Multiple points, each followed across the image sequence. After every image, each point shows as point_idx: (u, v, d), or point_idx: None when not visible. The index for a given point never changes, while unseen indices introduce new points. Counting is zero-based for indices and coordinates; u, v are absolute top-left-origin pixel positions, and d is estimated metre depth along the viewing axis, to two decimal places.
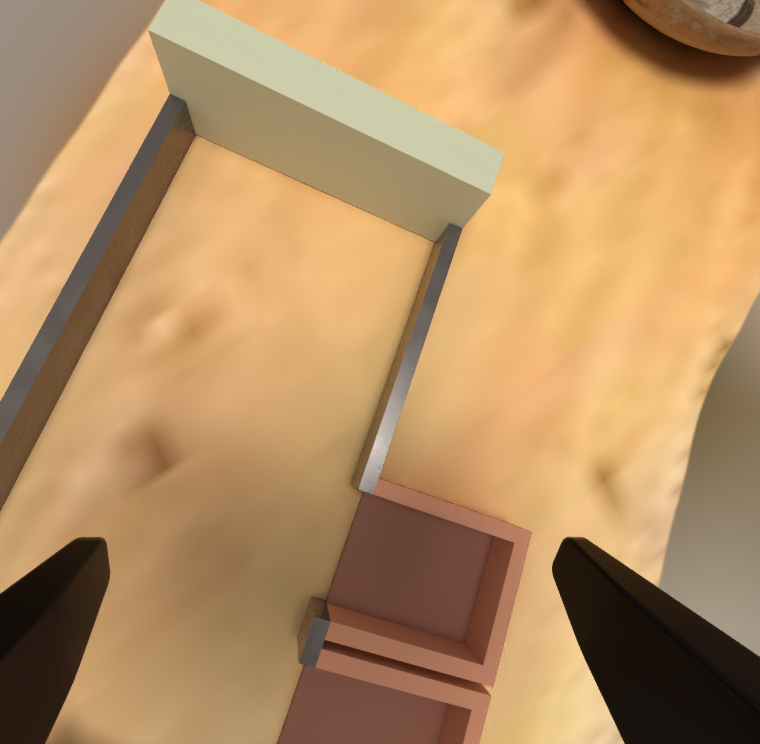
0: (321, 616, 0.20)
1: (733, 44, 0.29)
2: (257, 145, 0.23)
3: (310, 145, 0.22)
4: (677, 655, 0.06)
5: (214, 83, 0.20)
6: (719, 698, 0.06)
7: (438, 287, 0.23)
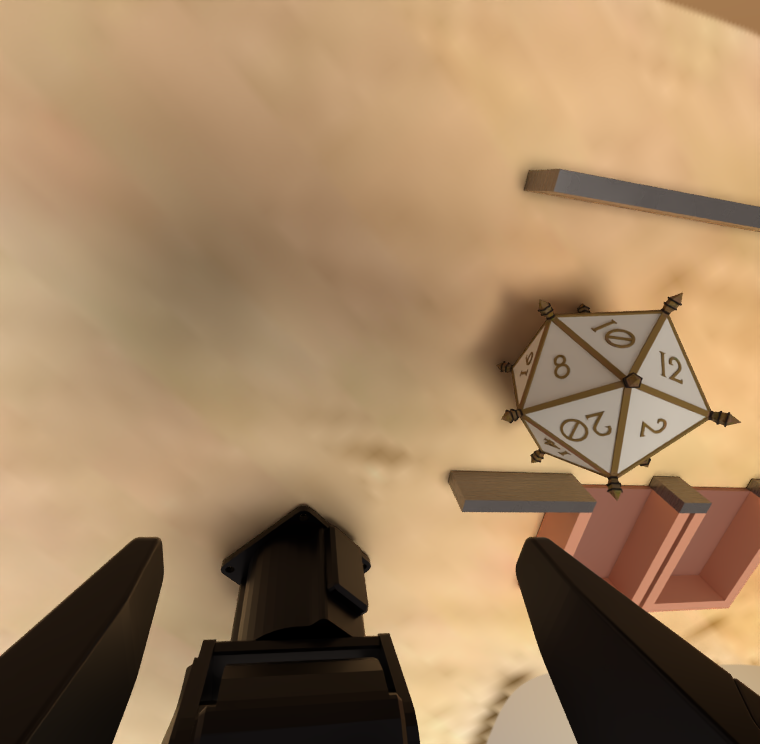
0: None
1: None
2: None
3: None
4: (628, 658, 0.06)
5: None
6: (667, 703, 0.06)
7: None
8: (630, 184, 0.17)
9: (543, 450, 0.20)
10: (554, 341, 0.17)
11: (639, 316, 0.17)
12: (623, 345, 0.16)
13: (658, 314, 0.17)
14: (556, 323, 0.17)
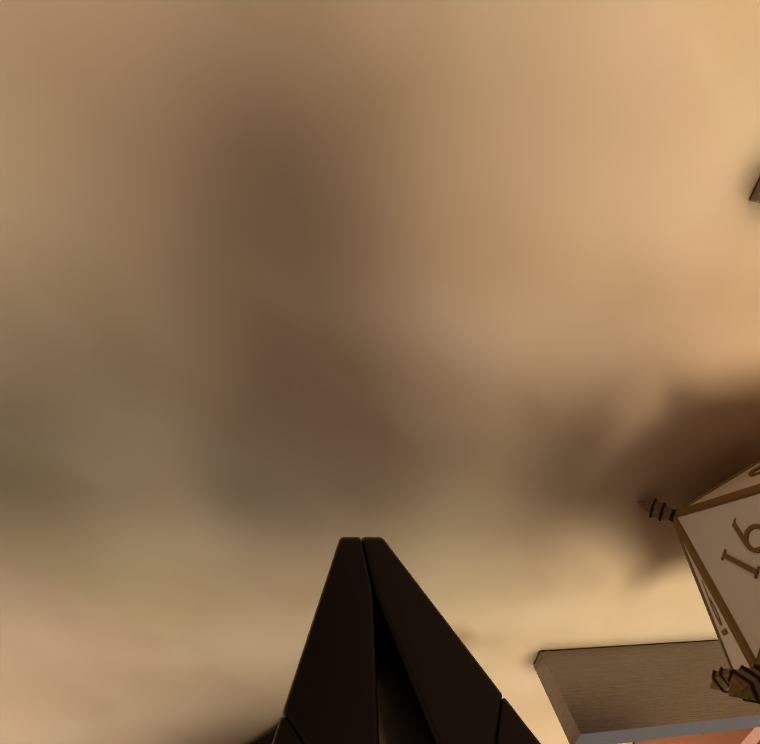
0: None
1: None
2: None
3: None
4: (399, 674, 0.06)
5: None
6: (425, 726, 0.05)
7: None
8: None
9: None
10: None
11: None
12: None
13: None
14: None
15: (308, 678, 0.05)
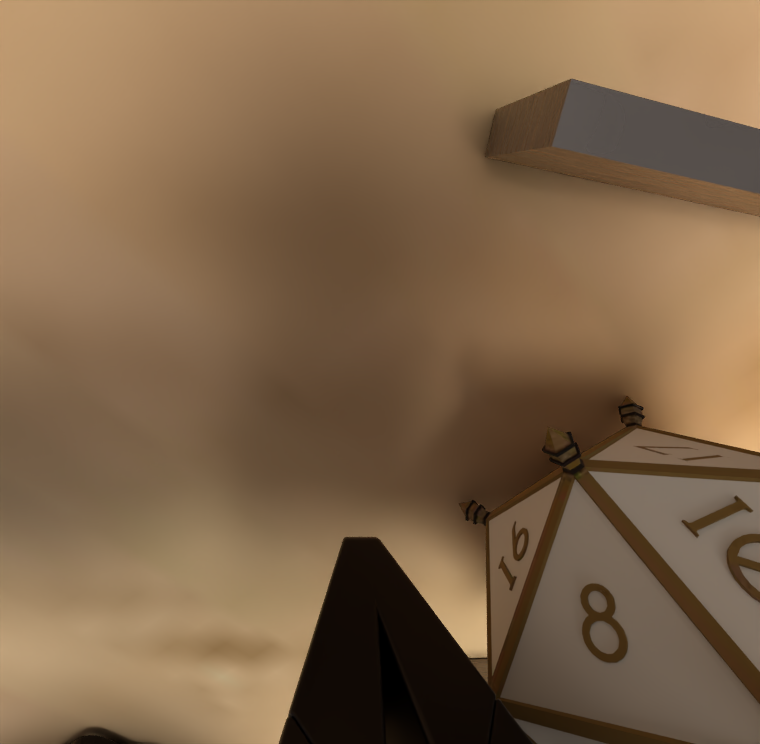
0: None
1: None
2: None
3: None
4: (393, 675, 0.05)
5: None
6: (420, 727, 0.05)
7: None
8: (758, 135, 0.06)
9: None
10: (582, 537, 0.07)
11: None
12: None
13: None
14: (588, 489, 0.07)
15: (314, 678, 0.05)
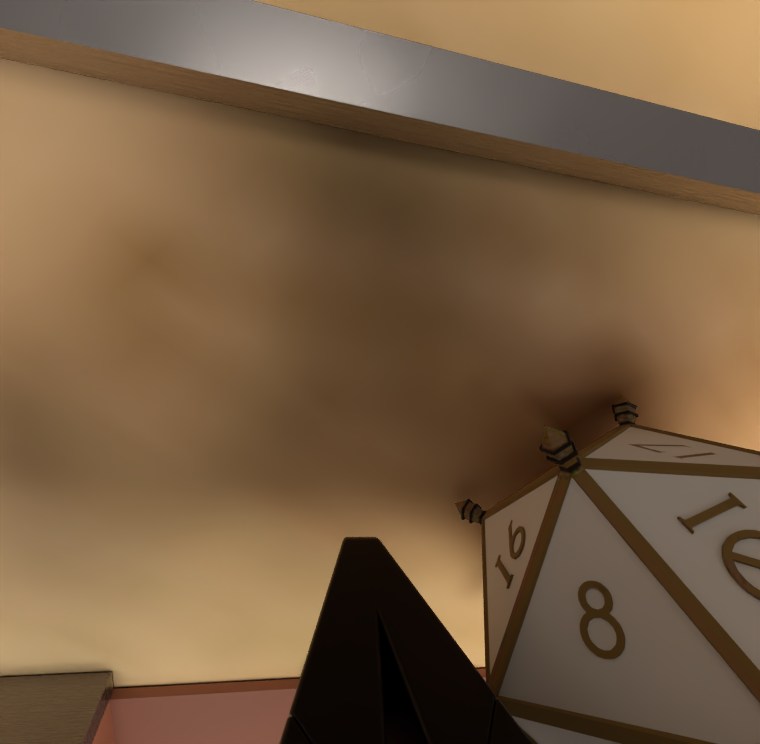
0: None
1: None
2: None
3: None
4: (392, 675, 0.05)
5: None
6: (419, 727, 0.05)
7: None
8: None
9: None
10: (579, 535, 0.07)
11: None
12: None
13: None
14: (585, 487, 0.07)
15: (314, 678, 0.05)
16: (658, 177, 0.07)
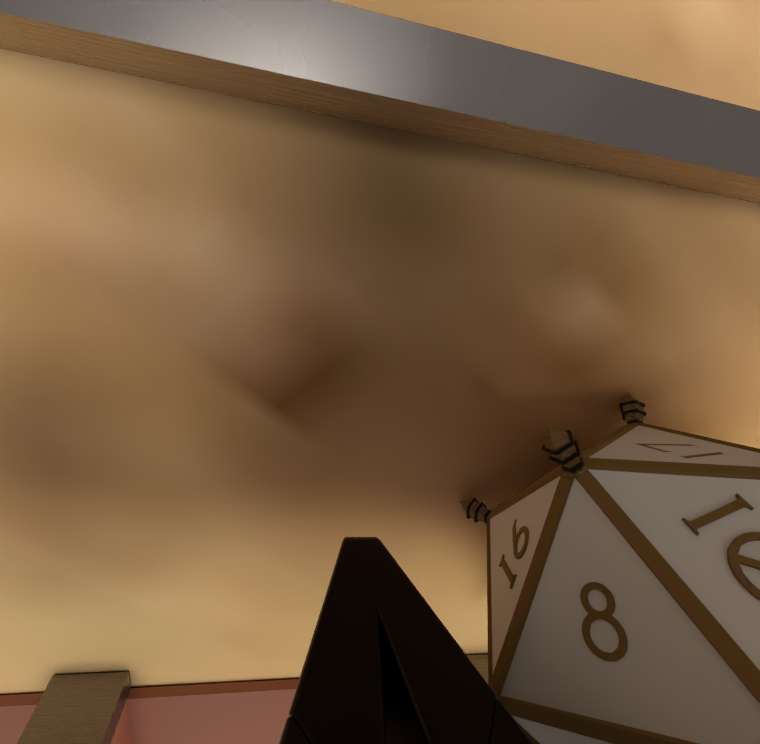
0: None
1: None
2: None
3: None
4: (393, 675, 0.05)
5: None
6: (419, 728, 0.05)
7: None
8: None
9: None
10: (581, 535, 0.07)
11: None
12: None
13: None
14: (587, 488, 0.07)
15: (314, 678, 0.05)
16: (156, 55, 0.05)
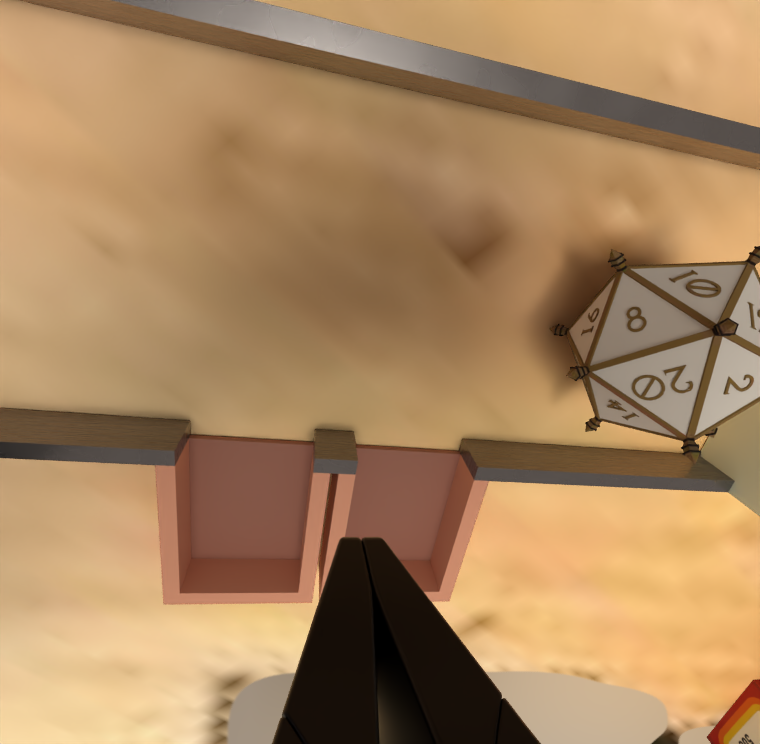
0: None
1: None
2: None
3: None
4: (399, 674, 0.06)
5: None
6: None
7: (671, 486, 0.23)
8: None
9: (601, 417, 0.19)
10: (626, 293, 0.16)
11: (722, 267, 0.16)
12: (708, 294, 0.15)
13: (743, 265, 0.15)
14: (629, 274, 0.16)
15: (308, 678, 0.05)
16: (478, 91, 0.14)
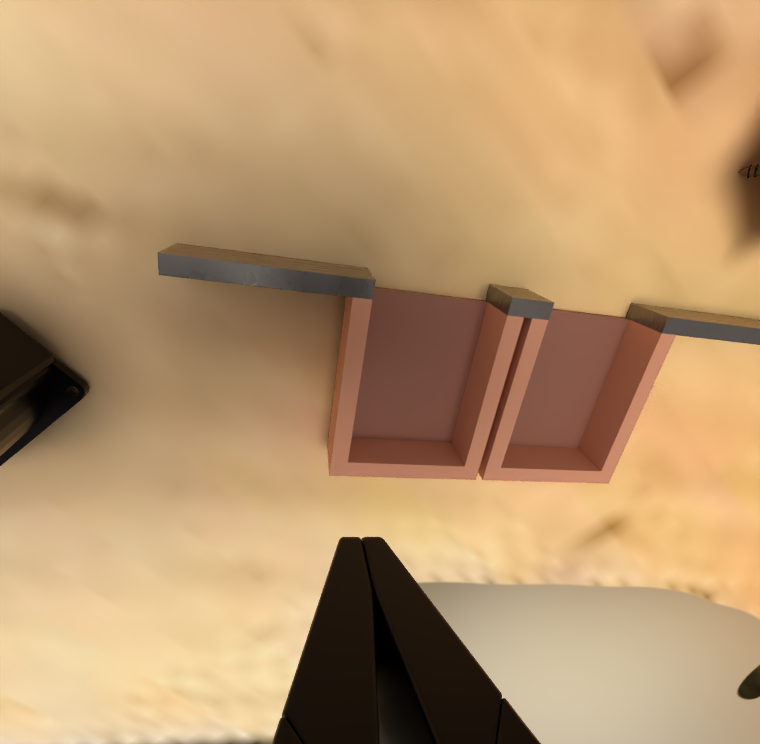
0: None
1: None
2: None
3: None
4: (399, 674, 0.06)
5: None
6: None
7: None
8: None
9: None
10: None
11: None
12: None
13: None
14: None
15: (308, 678, 0.05)
16: None
